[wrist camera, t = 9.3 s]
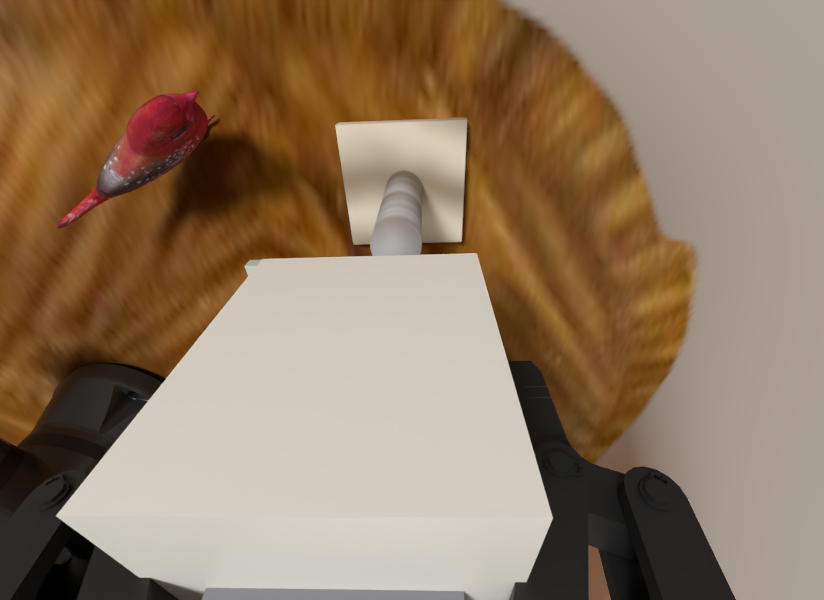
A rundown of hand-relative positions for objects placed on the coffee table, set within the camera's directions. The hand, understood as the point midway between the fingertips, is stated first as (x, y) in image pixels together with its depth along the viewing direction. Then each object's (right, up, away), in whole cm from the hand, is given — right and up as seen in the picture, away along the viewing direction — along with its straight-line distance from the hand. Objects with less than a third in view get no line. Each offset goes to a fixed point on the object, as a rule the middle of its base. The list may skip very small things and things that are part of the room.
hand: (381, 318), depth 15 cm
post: (+1, +11, +15) cm, 19 cm away
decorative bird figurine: (-18, +14, +14) cm, 27 cm away
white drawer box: (0, -1, -1) cm, 1 cm away
